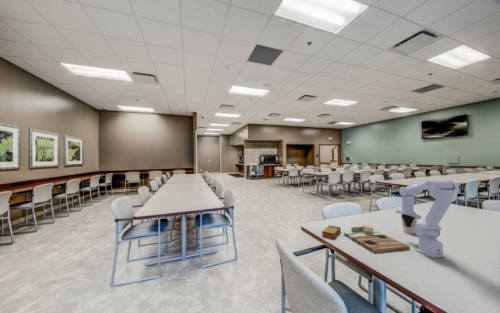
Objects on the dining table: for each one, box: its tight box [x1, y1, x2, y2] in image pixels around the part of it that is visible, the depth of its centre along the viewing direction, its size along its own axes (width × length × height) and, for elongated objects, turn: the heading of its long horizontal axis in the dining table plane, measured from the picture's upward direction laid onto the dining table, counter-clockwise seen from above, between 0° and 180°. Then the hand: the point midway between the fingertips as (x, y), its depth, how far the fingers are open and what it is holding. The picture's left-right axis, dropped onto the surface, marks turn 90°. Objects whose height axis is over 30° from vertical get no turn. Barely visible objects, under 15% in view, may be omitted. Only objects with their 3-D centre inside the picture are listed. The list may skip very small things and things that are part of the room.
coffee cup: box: [401, 211, 418, 235], centre depth 135 cm, size 9×9×15 cm
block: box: [362, 224, 374, 235], centre depth 128 cm, size 5×5×5 cm
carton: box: [321, 224, 341, 240], centre depth 133 cm, size 8×16×4 cm, turn 140°
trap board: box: [343, 225, 411, 254], centre depth 120 cm, size 26×24×5 cm
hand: (408, 226), depth 120 cm, fingers closed
